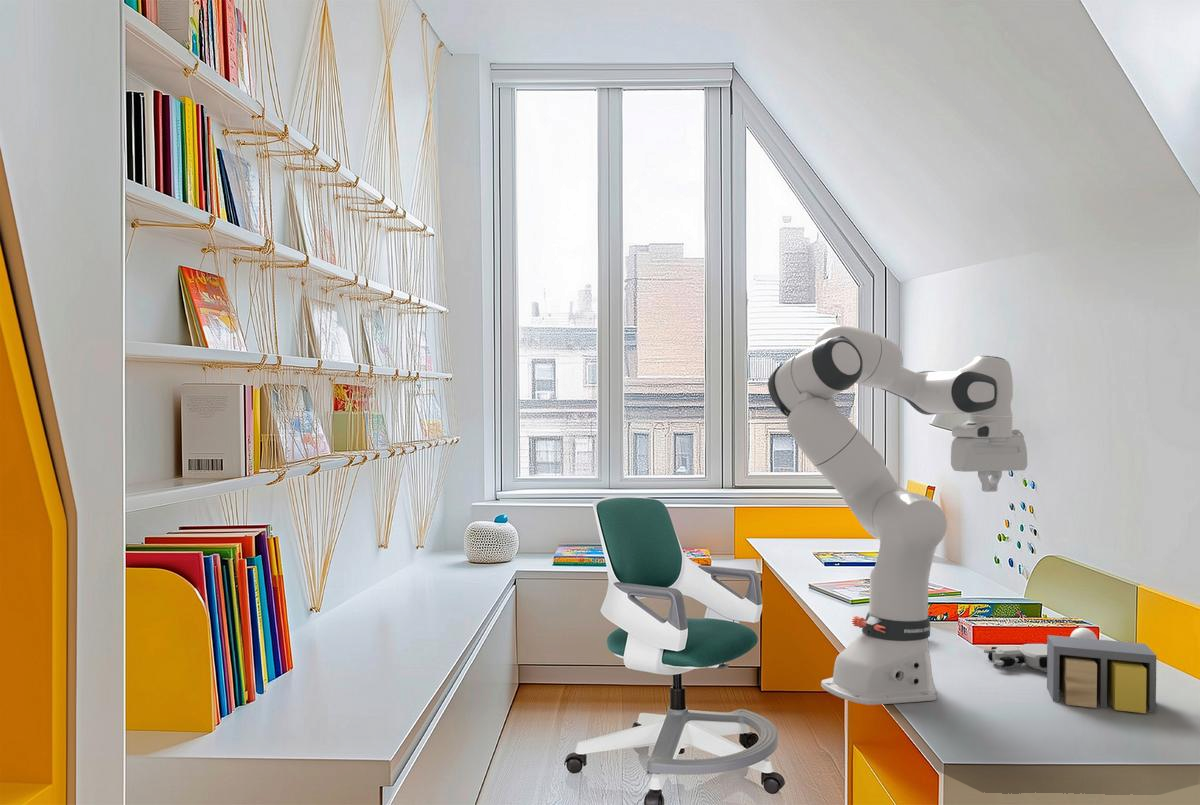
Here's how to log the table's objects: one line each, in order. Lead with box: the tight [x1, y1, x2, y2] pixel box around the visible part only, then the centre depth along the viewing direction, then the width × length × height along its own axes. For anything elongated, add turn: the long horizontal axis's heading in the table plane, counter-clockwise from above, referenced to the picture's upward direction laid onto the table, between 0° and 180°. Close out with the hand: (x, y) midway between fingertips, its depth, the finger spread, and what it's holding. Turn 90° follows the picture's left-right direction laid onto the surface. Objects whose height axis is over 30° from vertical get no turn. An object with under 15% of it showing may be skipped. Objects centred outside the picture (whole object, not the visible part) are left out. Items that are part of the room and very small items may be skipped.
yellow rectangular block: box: [1107, 659, 1147, 714], centre depth 170 cm, size 8×5×8 cm, turn 160°
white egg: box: [1069, 627, 1098, 639], centre depth 208 cm, size 8×6×6 cm
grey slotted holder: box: [1046, 634, 1157, 714], centre depth 173 cm, size 9×17×10 cm, turn 70°
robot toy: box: [983, 643, 1047, 673], centre depth 195 cm, size 12×4×15 cm
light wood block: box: [1059, 655, 1098, 709], centre depth 172 cm, size 8×5×8 cm, turn 160°
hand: (989, 491), depth 202 cm, fingers closed
